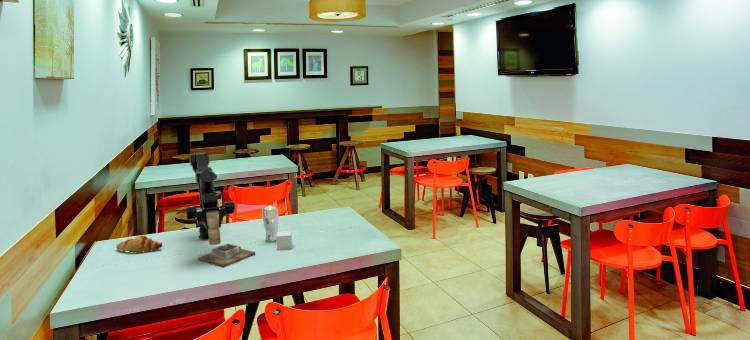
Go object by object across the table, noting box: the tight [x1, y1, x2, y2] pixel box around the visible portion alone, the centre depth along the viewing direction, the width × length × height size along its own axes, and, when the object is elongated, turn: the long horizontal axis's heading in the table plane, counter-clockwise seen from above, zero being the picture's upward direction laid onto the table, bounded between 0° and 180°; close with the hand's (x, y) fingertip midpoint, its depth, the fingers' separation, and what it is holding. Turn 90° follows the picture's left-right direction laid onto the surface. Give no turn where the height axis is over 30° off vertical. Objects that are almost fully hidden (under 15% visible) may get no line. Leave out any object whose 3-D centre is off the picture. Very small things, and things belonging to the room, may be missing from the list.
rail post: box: [206, 211, 222, 246], centre depth 188 cm, size 4×4×13 cm
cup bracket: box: [197, 243, 256, 268], centre depth 192 cm, size 16×16×4 cm
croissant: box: [115, 234, 163, 253], centre depth 204 cm, size 21×10×8 cm
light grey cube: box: [276, 230, 293, 251], centre depth 202 cm, size 6×6×6 cm
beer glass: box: [261, 205, 279, 243], centre depth 211 cm, size 7×7×15 cm
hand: (213, 228), depth 187 cm, fingers closed on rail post, 4 cm apart
